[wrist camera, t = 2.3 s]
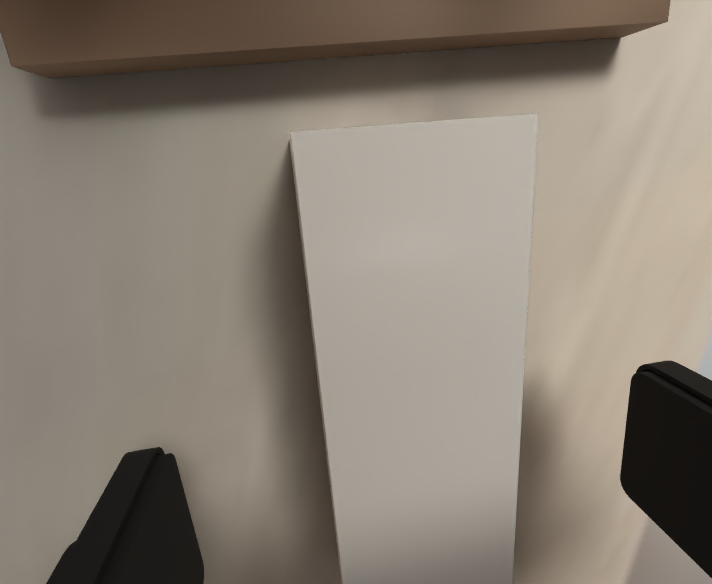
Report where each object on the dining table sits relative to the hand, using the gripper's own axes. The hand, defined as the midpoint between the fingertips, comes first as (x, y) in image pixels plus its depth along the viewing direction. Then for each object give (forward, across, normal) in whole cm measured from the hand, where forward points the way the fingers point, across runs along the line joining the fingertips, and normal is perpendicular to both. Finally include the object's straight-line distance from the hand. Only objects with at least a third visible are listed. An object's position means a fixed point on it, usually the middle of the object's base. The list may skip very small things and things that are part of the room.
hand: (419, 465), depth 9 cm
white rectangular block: (+3, 0, 0) cm, 3 cm away
